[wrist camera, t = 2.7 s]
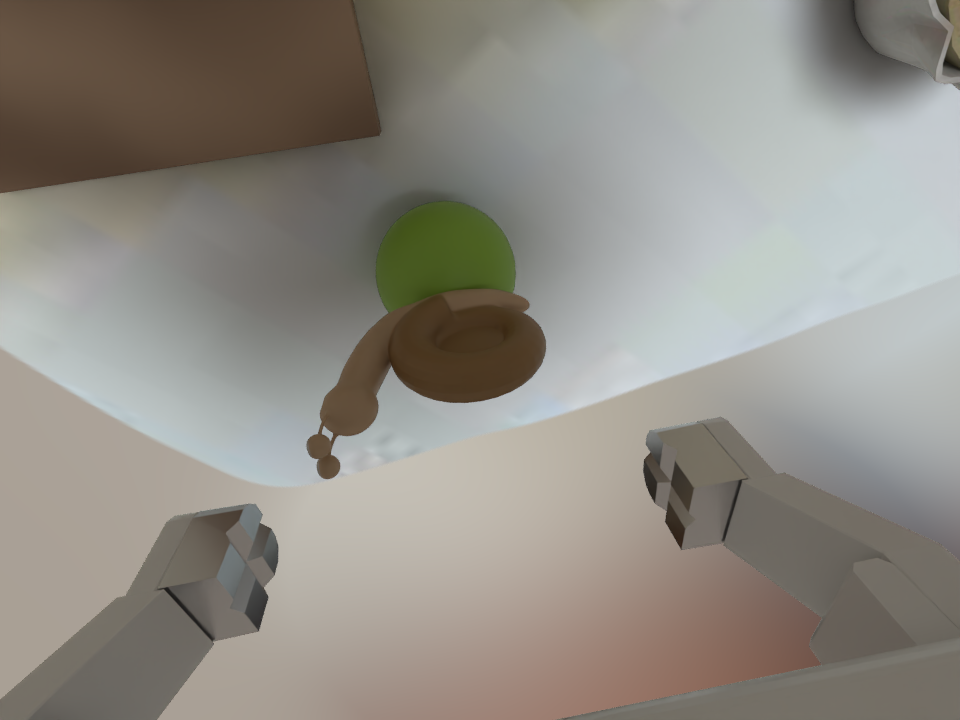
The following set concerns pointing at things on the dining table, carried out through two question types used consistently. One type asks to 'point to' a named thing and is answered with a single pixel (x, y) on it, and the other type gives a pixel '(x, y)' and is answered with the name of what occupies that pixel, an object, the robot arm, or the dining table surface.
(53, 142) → the walnut board
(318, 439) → the snail figurine
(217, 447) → the dining table surface
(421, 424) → the dining table surface
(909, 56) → the cupcake
